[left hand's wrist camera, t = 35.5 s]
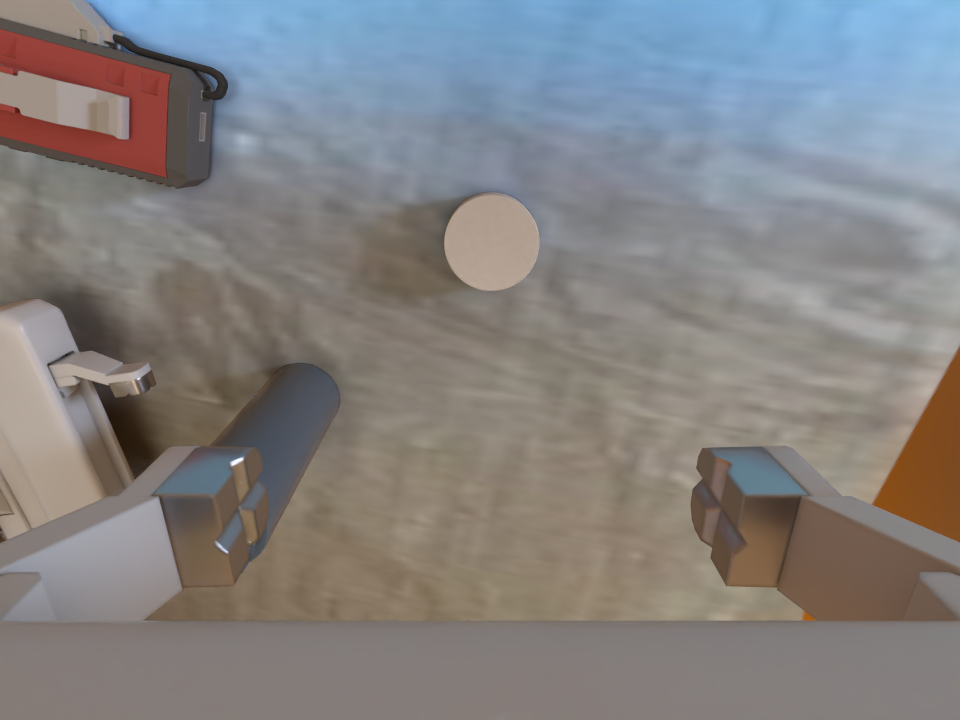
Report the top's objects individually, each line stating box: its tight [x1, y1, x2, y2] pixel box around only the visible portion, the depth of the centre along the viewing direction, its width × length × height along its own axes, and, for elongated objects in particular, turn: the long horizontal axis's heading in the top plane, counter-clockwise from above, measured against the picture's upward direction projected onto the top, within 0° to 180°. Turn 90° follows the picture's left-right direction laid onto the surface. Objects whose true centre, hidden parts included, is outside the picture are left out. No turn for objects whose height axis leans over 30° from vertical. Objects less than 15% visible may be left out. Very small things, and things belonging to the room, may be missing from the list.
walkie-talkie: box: [0, 0, 228, 189], centre depth 30 cm, size 9×4×20 cm
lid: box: [444, 192, 539, 291], centre depth 34 cm, size 6×6×2 cm
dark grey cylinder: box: [210, 363, 340, 573], centre depth 32 cm, size 5×5×16 cm
